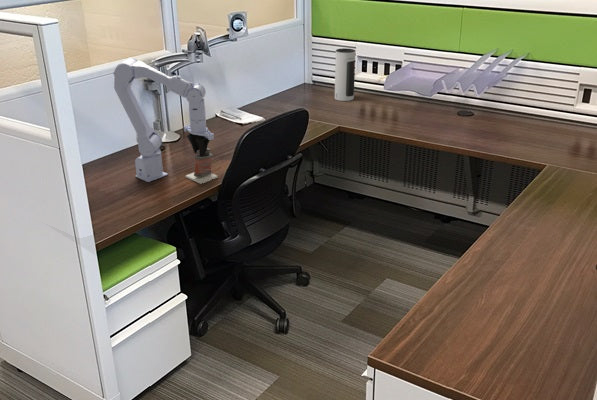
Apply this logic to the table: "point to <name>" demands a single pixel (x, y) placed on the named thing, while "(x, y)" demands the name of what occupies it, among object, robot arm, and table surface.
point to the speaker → (344, 74)
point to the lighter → (203, 164)
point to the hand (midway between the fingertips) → (200, 153)
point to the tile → (201, 178)
